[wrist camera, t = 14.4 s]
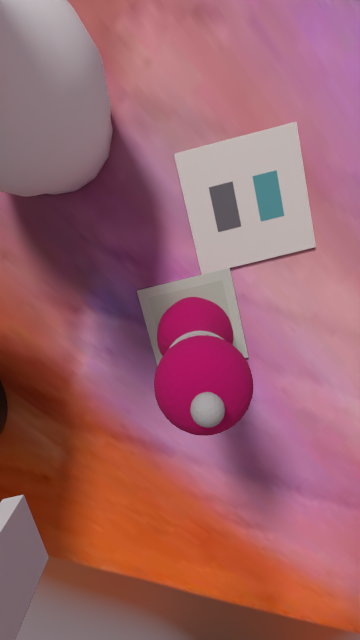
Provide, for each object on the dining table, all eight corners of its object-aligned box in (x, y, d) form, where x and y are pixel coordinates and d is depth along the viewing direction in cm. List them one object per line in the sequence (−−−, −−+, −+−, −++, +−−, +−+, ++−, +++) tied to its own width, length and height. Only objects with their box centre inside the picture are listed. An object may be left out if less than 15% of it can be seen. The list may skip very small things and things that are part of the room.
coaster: (160, 376, 37) (160, 377, 37) (136, 290, 35) (136, 290, 35) (247, 356, 37) (248, 357, 37) (229, 267, 35) (229, 268, 35)
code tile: (201, 274, 35) (201, 274, 35) (174, 154, 33) (173, 153, 32) (314, 247, 34) (315, 247, 34) (295, 122, 32) (296, 121, 32)
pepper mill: (239, 334, 36) (309, 436, 17) (183, 369, 37) (188, 506, 17) (202, 278, 35) (232, 318, 15) (146, 316, 36) (105, 399, 16)
